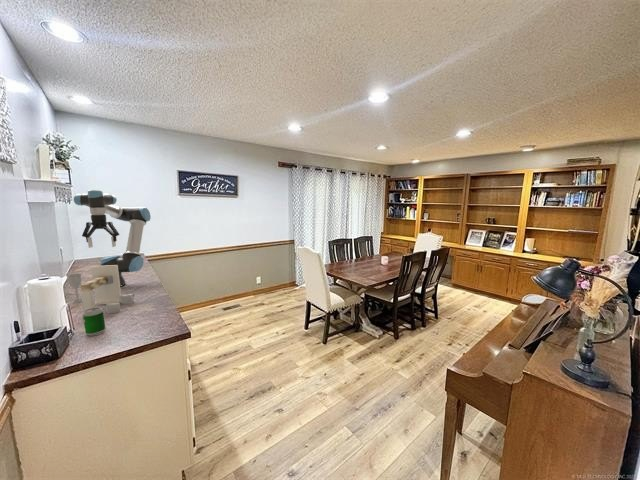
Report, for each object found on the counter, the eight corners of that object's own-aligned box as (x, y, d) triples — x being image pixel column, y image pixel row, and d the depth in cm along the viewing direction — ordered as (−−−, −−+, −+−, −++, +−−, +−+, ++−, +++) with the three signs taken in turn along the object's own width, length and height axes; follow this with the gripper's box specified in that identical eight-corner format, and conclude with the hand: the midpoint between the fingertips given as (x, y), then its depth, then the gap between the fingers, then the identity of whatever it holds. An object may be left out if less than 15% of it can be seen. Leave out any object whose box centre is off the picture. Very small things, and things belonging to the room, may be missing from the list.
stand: (123, 302, 170) (122, 294, 169) (133, 301, 171) (132, 294, 170) (106, 313, 153) (105, 305, 152) (118, 312, 154) (117, 304, 153)
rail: (101, 282, 166) (100, 275, 165) (108, 281, 167) (107, 275, 166) (81, 291, 149) (80, 284, 148) (89, 291, 149) (88, 284, 149)
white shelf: (97, 302, 170) (92, 266, 166) (122, 300, 172) (117, 264, 169) (74, 315, 150) (68, 274, 146) (102, 313, 152) (96, 273, 149)
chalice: (67, 304, 167) (63, 276, 165) (74, 300, 174) (70, 273, 171) (81, 302, 169) (77, 275, 167) (87, 299, 176) (83, 272, 173)
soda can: (109, 329, 134) (106, 306, 132) (97, 336, 126) (94, 312, 124) (94, 329, 133) (91, 306, 132) (81, 337, 126) (77, 313, 124)
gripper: (71, 215, 164) (76, 248, 167) (116, 214, 169) (120, 247, 172) (80, 214, 172) (84, 246, 175) (123, 213, 176) (126, 245, 179)
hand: (102, 247), depth 173 cm, fingers open, 13 cm apart
